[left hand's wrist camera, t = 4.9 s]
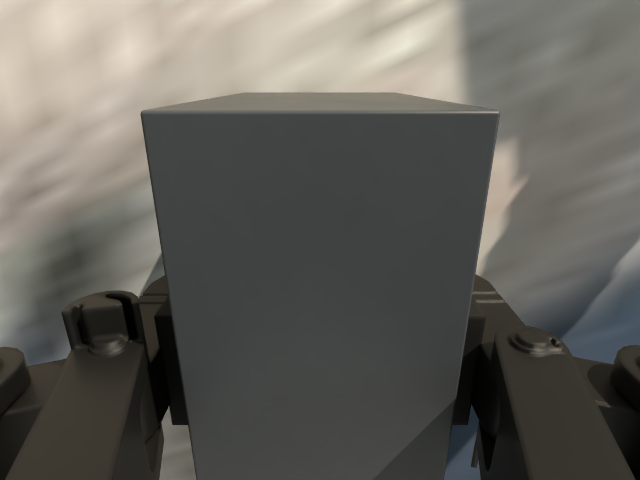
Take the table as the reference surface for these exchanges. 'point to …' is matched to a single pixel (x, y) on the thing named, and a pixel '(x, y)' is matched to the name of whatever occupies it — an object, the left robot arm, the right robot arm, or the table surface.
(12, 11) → the table surface
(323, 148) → the beam
